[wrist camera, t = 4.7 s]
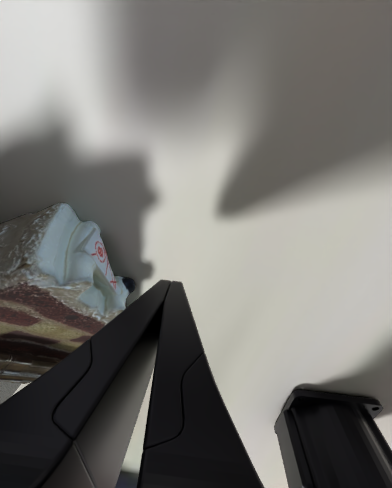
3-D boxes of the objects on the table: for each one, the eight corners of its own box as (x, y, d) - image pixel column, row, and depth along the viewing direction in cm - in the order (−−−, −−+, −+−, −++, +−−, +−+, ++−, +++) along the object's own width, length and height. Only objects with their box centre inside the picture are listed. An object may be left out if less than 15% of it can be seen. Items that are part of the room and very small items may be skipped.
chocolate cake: (170, 339, 15) (43, 419, 4) (80, 378, 14) (-391, 606, 3) (137, 232, 18) (14, 95, 7) (62, 261, 18) (-201, 165, 6)
